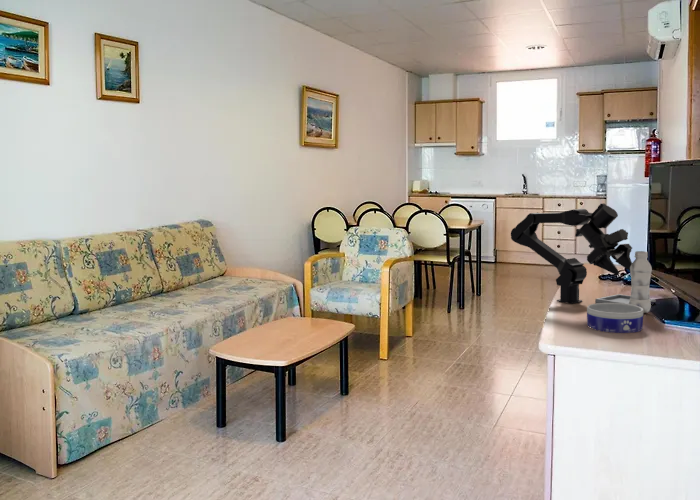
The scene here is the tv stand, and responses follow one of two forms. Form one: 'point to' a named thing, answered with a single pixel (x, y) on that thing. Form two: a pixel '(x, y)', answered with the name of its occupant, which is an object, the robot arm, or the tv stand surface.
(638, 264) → the plastic bottle
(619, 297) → the grey tray
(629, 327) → the dog bowl
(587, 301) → the tv stand surface
